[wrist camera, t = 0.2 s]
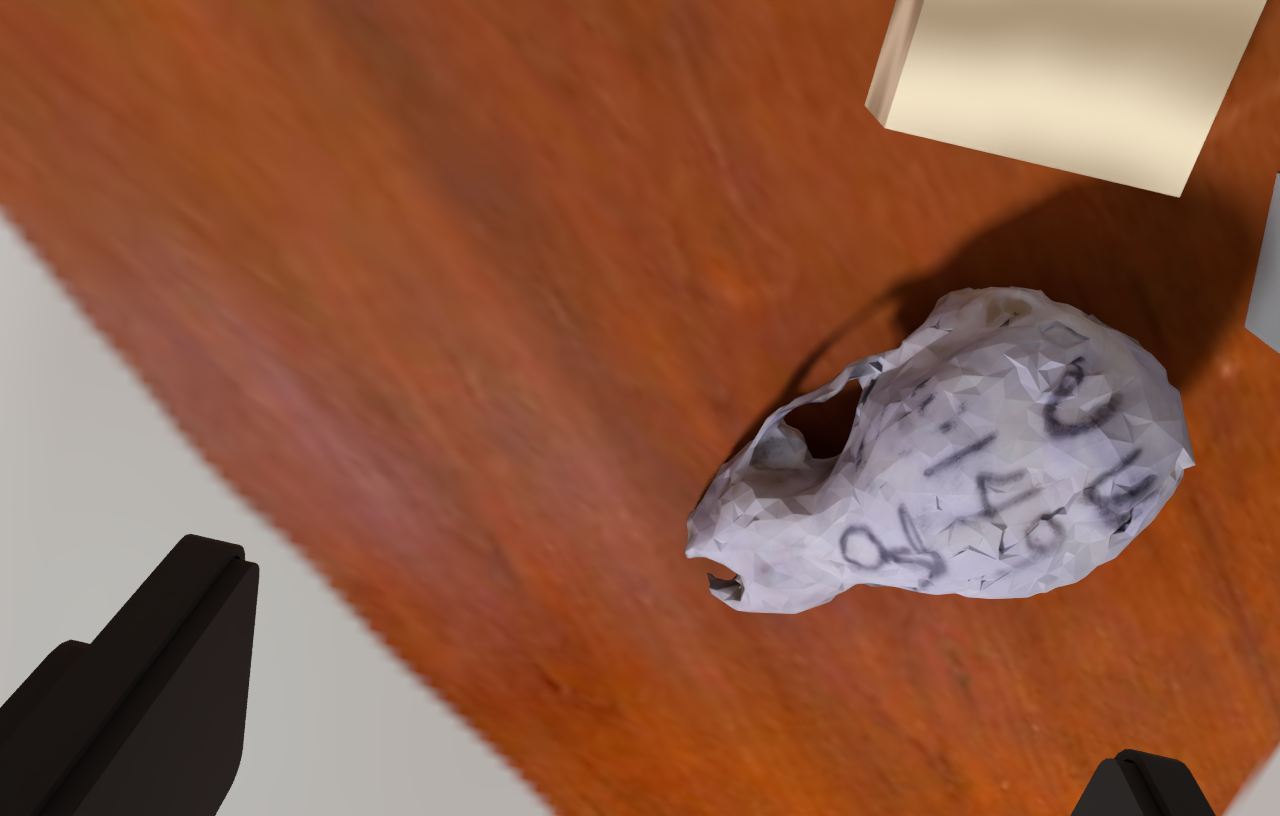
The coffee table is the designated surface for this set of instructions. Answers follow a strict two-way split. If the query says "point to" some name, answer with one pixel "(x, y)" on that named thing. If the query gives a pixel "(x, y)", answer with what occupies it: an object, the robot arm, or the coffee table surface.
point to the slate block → (1268, 280)
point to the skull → (956, 464)
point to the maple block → (1065, 80)
